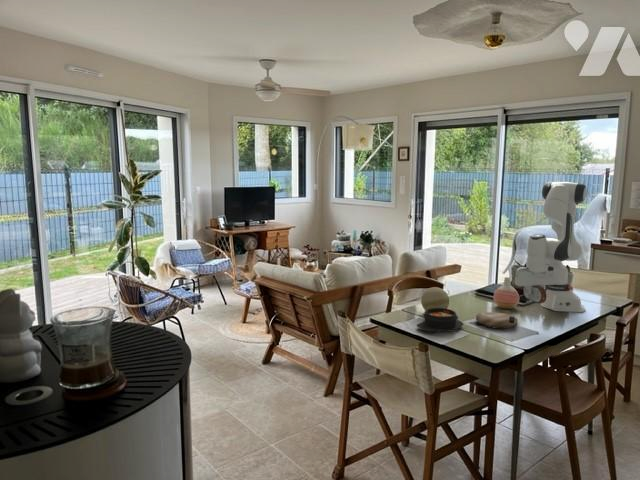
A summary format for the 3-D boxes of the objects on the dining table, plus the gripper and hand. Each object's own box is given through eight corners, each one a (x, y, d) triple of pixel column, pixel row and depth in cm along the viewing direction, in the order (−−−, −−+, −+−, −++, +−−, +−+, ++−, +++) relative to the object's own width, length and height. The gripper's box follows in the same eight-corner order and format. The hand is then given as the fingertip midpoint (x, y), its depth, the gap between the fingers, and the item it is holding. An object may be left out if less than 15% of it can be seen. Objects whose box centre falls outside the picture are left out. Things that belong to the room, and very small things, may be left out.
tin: (545, 305, 235) (548, 288, 234) (540, 305, 234) (542, 288, 233) (526, 296, 249) (528, 281, 248) (521, 296, 249) (523, 281, 247)
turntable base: (511, 321, 251) (511, 318, 251) (510, 329, 238) (510, 326, 238) (482, 318, 256) (483, 315, 256) (481, 326, 243) (481, 323, 243)
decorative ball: (437, 320, 253) (438, 292, 251) (415, 313, 265) (415, 287, 262) (454, 314, 263) (455, 287, 260) (432, 308, 274) (432, 282, 272)
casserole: (445, 319, 255) (446, 303, 254) (472, 329, 239) (472, 313, 238) (408, 326, 244) (409, 311, 242) (433, 338, 227) (434, 321, 226)
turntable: (525, 321, 245) (525, 313, 244) (502, 330, 233) (503, 321, 232) (491, 312, 261) (491, 304, 260) (468, 319, 249) (468, 311, 248)
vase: (514, 304, 280) (516, 275, 277) (521, 311, 267) (523, 280, 264) (490, 304, 282) (491, 274, 279) (496, 311, 268) (498, 280, 265)
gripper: (519, 269, 235) (518, 296, 237) (558, 267, 237) (557, 294, 239) (512, 266, 241) (511, 293, 243) (551, 264, 243) (549, 291, 245)
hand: (534, 293), depth 241 cm, fingers closed on tin, 3 cm apart
